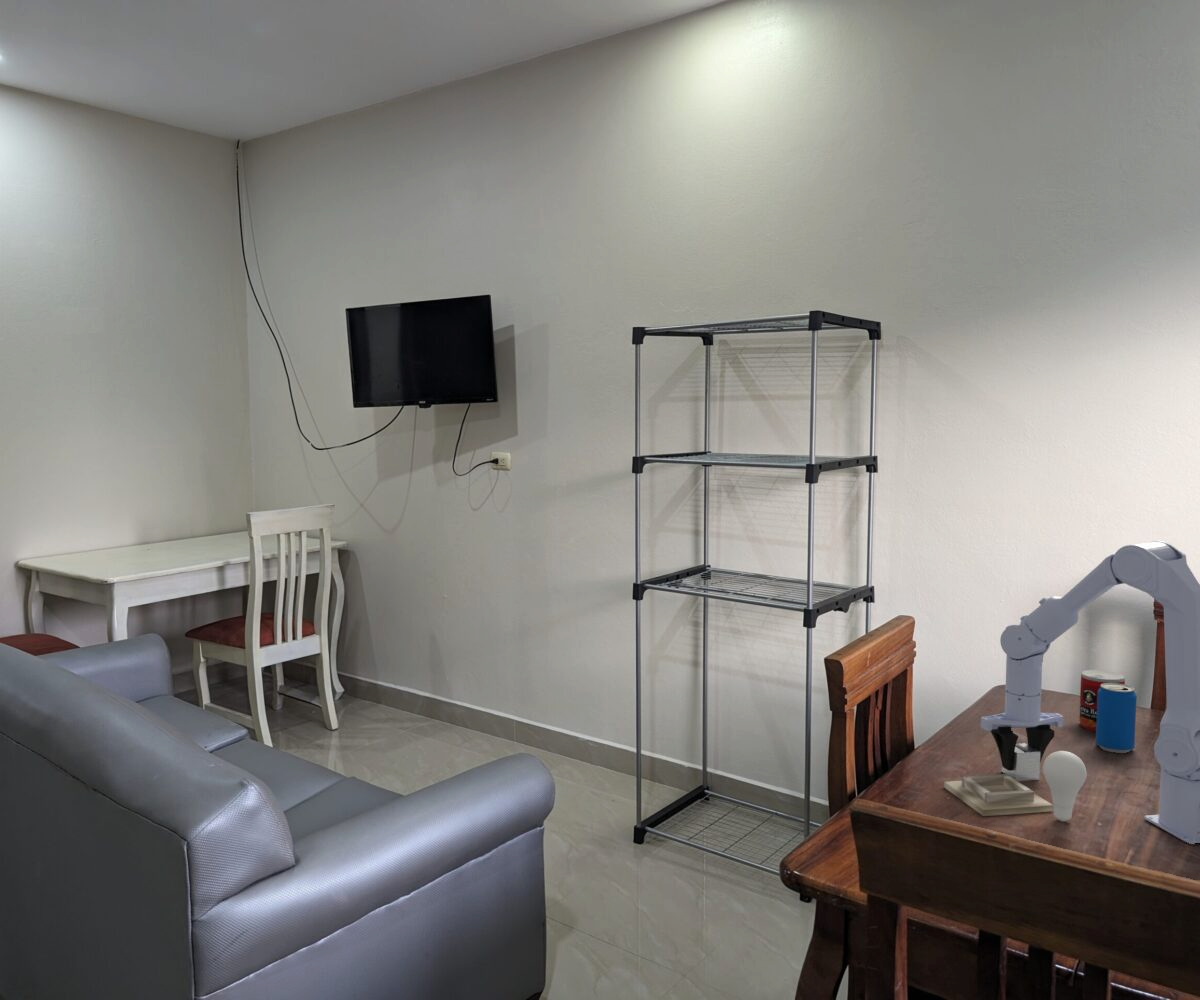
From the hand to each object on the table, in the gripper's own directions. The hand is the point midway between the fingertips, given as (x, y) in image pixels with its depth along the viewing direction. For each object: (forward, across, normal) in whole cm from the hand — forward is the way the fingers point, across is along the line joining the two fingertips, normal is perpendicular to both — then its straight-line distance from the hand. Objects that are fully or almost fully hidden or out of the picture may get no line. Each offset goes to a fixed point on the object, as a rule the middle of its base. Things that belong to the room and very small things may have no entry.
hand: (1020, 767), depth 166 cm
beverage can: (+2, -26, -10) cm, 28 cm away
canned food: (+2, -32, -22) cm, 39 cm away
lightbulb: (+2, +5, +19) cm, 19 cm away
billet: (+2, 0, 0) cm, 2 cm away
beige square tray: (+1, +10, +9) cm, 14 cm away
